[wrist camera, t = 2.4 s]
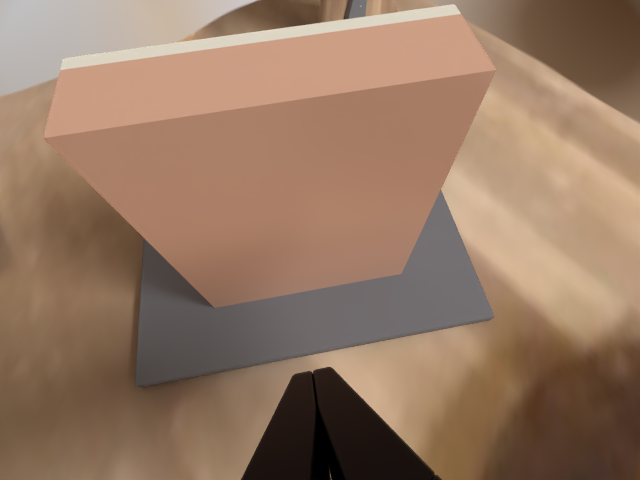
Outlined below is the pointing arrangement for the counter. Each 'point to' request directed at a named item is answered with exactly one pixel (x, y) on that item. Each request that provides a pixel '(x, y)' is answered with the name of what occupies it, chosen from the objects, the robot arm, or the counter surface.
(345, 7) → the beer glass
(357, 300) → the mat
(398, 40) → the tile
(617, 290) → the counter surface
